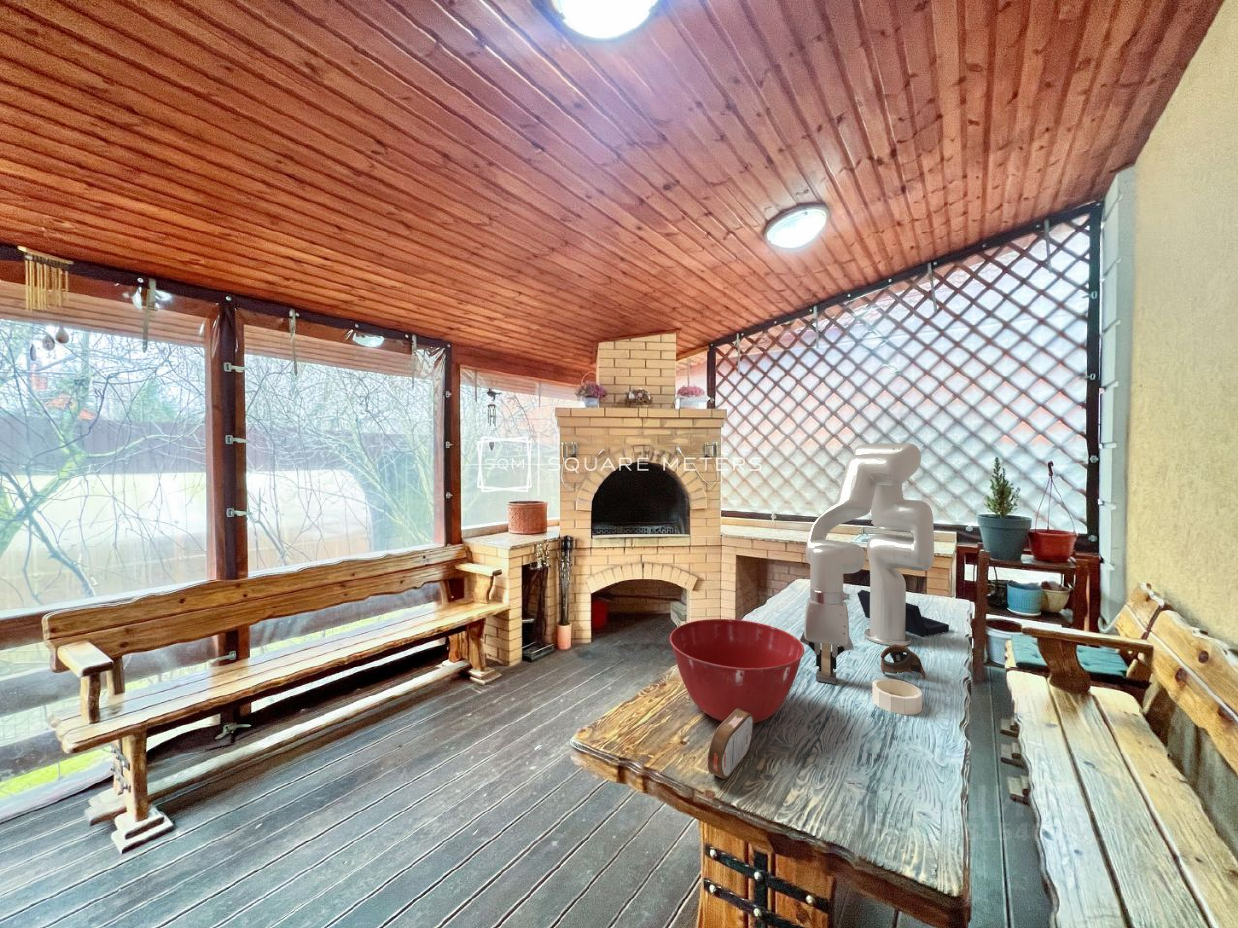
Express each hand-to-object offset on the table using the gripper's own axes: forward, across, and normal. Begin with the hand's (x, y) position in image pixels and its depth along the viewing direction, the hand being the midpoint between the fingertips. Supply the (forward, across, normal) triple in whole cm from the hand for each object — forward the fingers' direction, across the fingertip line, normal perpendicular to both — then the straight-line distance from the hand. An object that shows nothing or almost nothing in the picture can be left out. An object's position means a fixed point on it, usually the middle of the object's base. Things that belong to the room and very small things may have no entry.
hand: (826, 669), depth 126 cm
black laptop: (+4, -20, -54) cm, 58 cm away
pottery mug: (+4, -18, -13) cm, 22 cm away
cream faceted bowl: (+2, -15, +6) cm, 16 cm away
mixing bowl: (+3, +17, +24) cm, 30 cm away
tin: (+2, +13, +44) cm, 46 cm away
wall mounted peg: (+2, 0, 0) cm, 2 cm away
